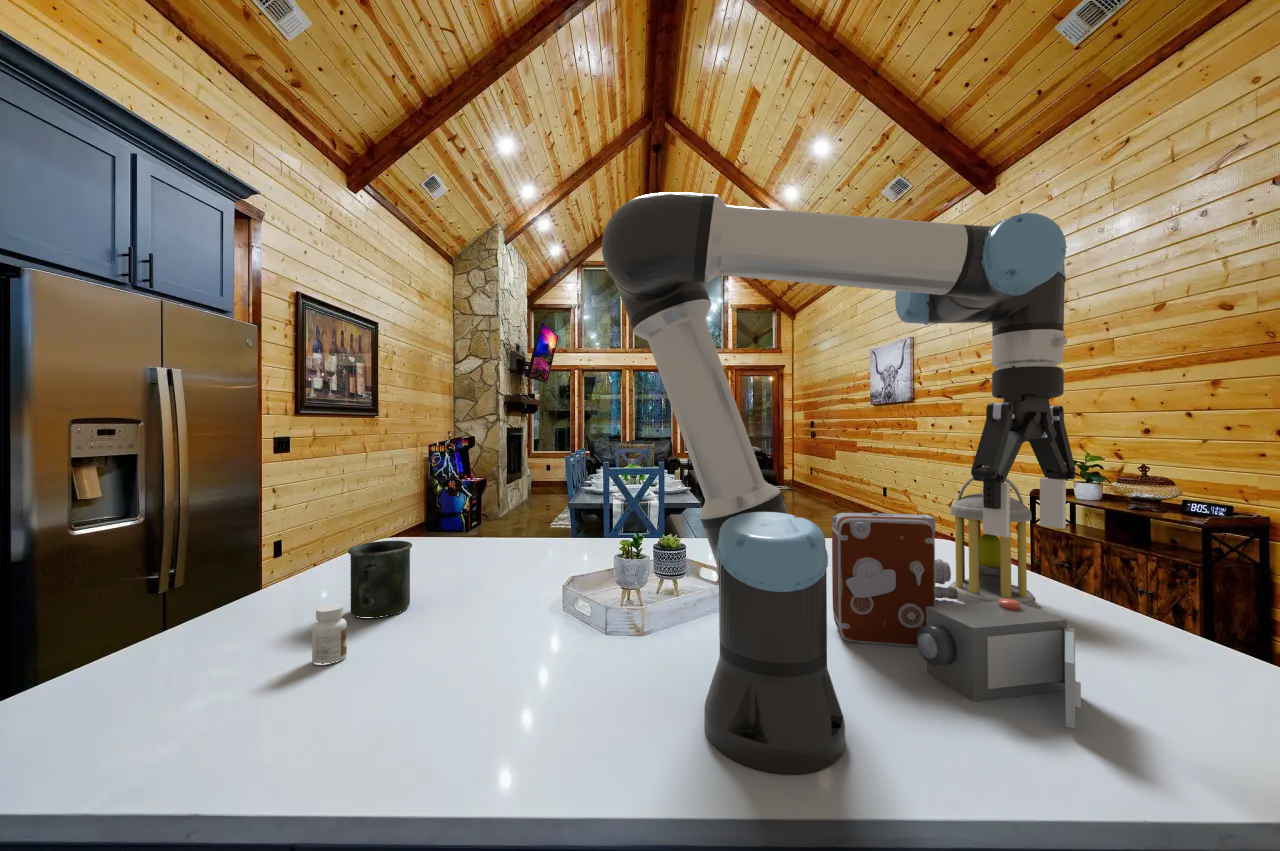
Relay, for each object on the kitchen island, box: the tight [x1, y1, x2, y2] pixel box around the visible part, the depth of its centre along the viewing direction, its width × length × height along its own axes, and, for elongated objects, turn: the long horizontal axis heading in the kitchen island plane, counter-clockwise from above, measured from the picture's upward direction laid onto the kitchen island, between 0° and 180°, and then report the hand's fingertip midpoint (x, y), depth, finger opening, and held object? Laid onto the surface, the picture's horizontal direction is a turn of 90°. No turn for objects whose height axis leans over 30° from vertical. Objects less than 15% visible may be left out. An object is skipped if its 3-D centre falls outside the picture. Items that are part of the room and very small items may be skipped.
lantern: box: [948, 476, 1037, 608], centre depth 104 cm, size 14×14×25 cm
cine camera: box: [831, 511, 965, 648], centre depth 84 cm, size 9×19×20 cm, turn 78°
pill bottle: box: [311, 603, 348, 664], centre depth 77 cm, size 4×4×8 cm
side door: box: [1064, 627, 1082, 729], centre depth 62 cm, size 13×1×7 cm, turn 141°
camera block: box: [917, 599, 1068, 702], centre depth 70 cm, size 16×8×10 cm, turn 101°
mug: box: [347, 540, 413, 617], centre depth 97 cm, size 11×15×12 cm
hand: (1025, 531), depth 68 cm, fingers open, 13 cm apart
